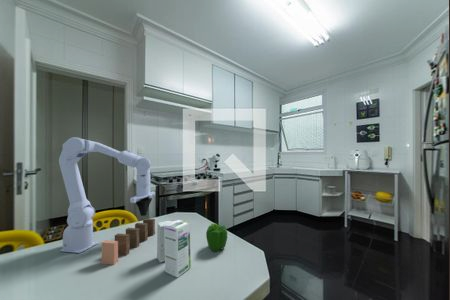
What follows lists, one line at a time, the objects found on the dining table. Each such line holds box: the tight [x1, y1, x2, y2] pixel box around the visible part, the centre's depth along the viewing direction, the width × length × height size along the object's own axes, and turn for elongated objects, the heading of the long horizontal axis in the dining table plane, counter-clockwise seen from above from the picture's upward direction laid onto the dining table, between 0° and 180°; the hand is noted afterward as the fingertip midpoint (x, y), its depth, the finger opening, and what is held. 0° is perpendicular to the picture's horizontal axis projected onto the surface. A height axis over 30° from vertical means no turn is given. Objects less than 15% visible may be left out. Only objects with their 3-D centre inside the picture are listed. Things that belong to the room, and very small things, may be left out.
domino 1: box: [101, 239, 119, 266], centre depth 60 cm, size 2×5×7 cm, turn 80°
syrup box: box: [164, 219, 192, 278], centre depth 56 cm, size 6×6×14 cm
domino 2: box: [114, 233, 130, 257], centre depth 66 cm, size 2×5×7 cm, turn 79°
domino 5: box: [142, 218, 156, 237], centre depth 82 cm, size 2×5×7 cm, turn 79°
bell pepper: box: [205, 222, 228, 252], centre depth 69 cm, size 8×8×10 cm
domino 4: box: [134, 222, 149, 242], centre depth 77 cm, size 2×5×7 cm, turn 79°
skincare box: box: [156, 219, 176, 263], centre depth 63 cm, size 6×4×12 cm
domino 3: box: [125, 227, 140, 249], centre depth 71 cm, size 2×5×7 cm, turn 79°
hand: (143, 215), depth 79 cm, fingers closed
